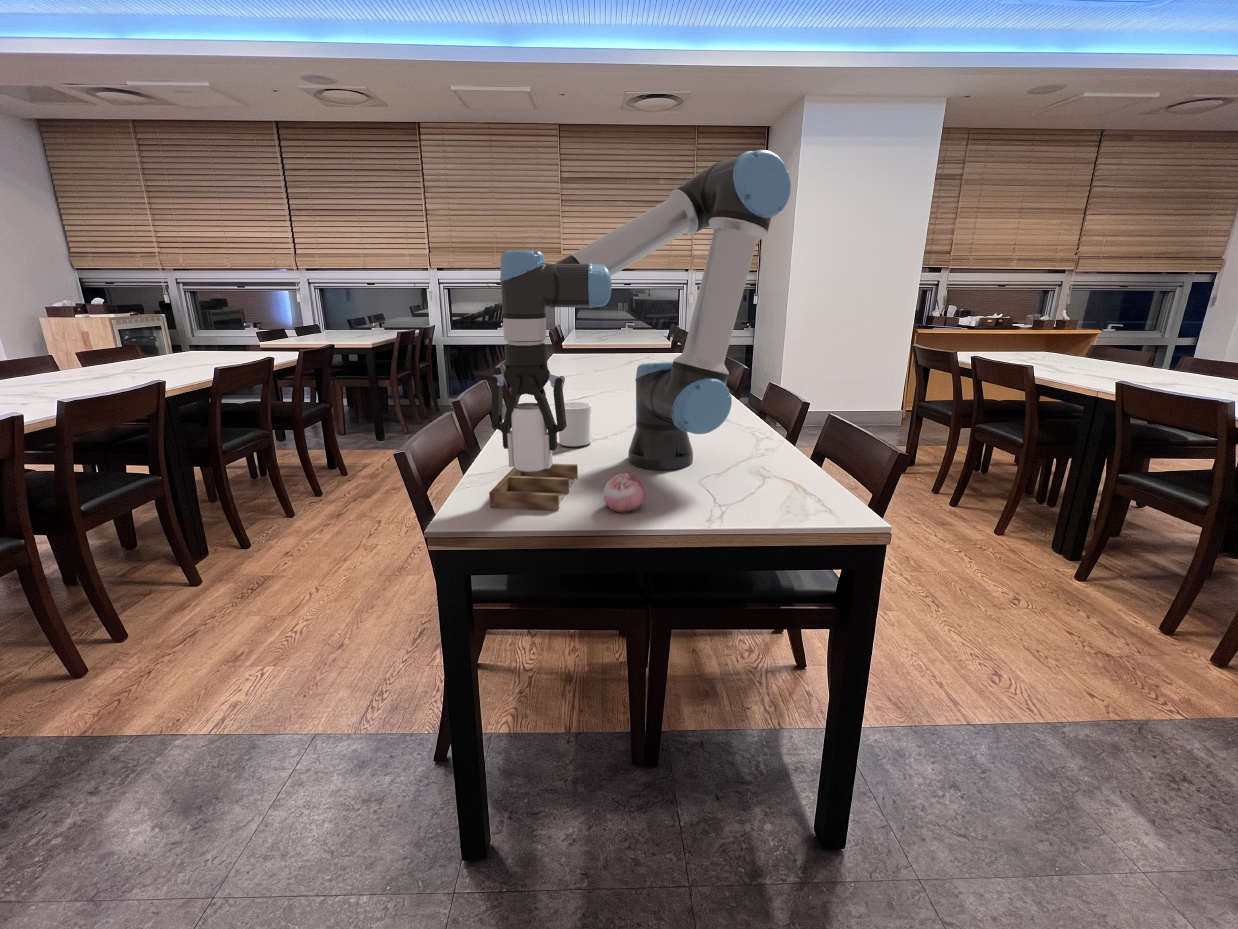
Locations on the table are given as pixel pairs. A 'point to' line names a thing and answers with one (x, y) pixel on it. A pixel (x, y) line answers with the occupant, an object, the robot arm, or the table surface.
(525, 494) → the comb rack
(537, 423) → the can
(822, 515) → the table surface
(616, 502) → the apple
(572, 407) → the mug
